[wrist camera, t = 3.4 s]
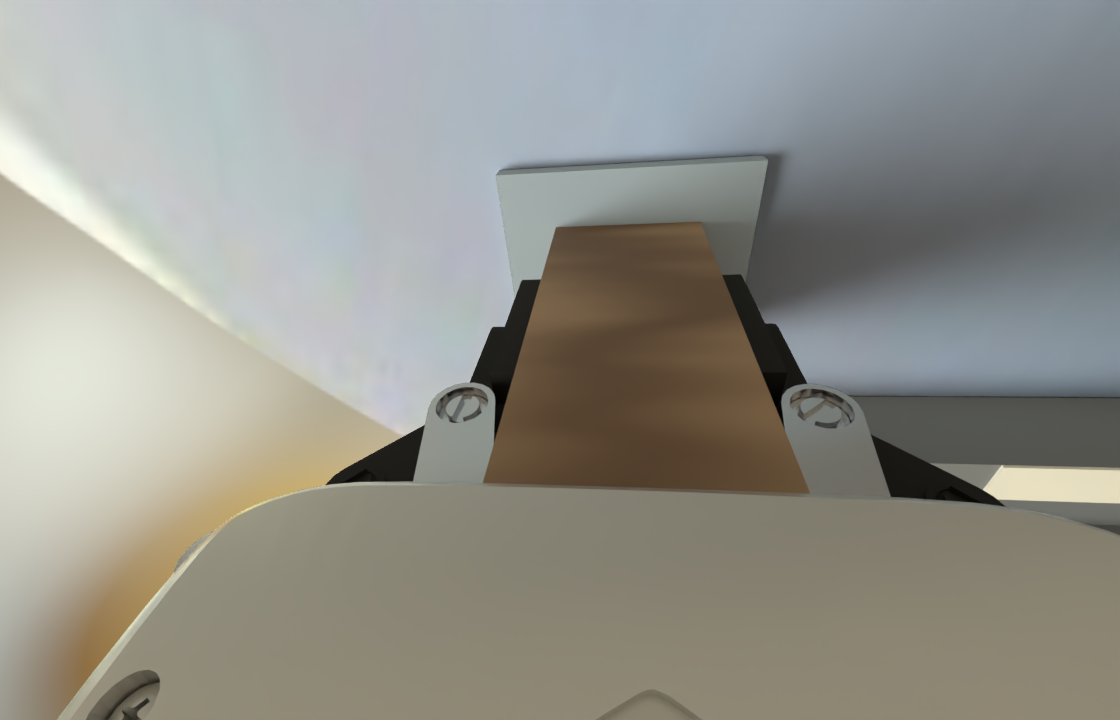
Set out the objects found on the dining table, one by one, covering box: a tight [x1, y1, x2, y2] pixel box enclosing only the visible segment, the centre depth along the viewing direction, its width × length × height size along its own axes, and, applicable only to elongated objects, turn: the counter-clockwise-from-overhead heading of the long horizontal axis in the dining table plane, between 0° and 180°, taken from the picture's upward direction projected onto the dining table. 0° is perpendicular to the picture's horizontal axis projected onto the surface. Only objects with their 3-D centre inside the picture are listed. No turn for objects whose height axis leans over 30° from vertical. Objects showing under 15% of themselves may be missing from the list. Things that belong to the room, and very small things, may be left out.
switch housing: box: [849, 396, 1120, 535], centre depth 16 cm, size 18×6×3 cm, turn 94°
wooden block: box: [483, 222, 810, 494], centre depth 10 cm, size 4×4×10 cm
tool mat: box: [496, 155, 768, 297], centre depth 14 cm, size 7×7×1 cm
